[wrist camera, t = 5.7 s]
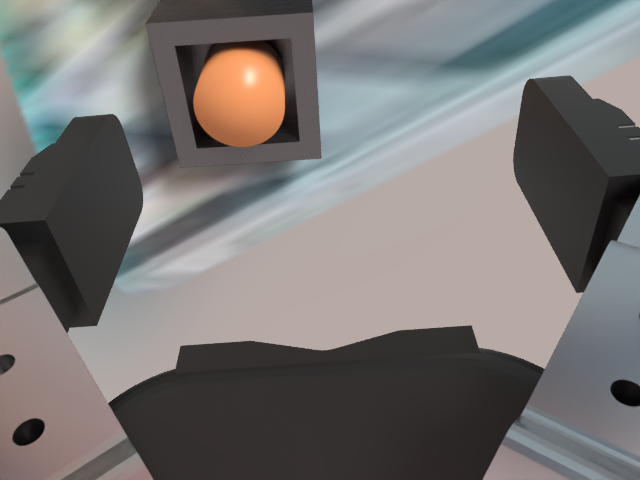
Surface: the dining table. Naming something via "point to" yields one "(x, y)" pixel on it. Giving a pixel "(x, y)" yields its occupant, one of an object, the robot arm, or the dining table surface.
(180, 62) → the button housing
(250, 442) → the robot arm
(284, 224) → the dining table surface
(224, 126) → the button
